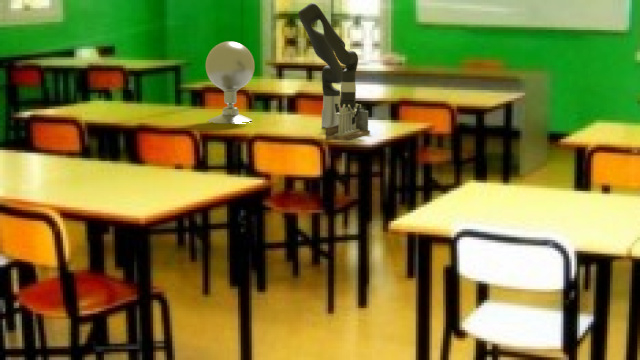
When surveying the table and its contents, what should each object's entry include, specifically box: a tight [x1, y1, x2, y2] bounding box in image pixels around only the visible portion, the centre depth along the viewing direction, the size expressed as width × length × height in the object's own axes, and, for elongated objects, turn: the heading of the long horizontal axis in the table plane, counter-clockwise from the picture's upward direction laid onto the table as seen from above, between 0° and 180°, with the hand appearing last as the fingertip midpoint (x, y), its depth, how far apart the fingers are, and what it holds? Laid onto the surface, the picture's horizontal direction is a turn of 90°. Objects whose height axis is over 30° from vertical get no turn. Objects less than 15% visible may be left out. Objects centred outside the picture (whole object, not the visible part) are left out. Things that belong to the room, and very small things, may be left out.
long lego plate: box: [334, 106, 360, 136], centre depth 511 cm, size 25×4×13 cm, turn 157°
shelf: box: [325, 110, 371, 141], centre depth 512 cm, size 12×31×12 cm, turn 157°
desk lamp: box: [205, 41, 255, 124], centre depth 574 cm, size 28×28×45 cm
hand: (347, 124), depth 512 cm, fingers open, 5 cm apart
